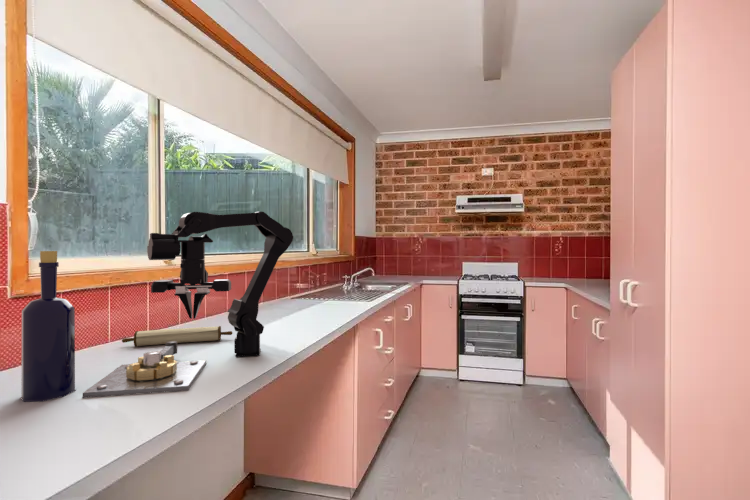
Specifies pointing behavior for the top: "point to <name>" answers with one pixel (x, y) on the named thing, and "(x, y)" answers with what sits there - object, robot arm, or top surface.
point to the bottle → (48, 340)
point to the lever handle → (162, 368)
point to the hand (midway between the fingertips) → (192, 318)
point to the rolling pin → (176, 335)
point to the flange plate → (122, 385)
